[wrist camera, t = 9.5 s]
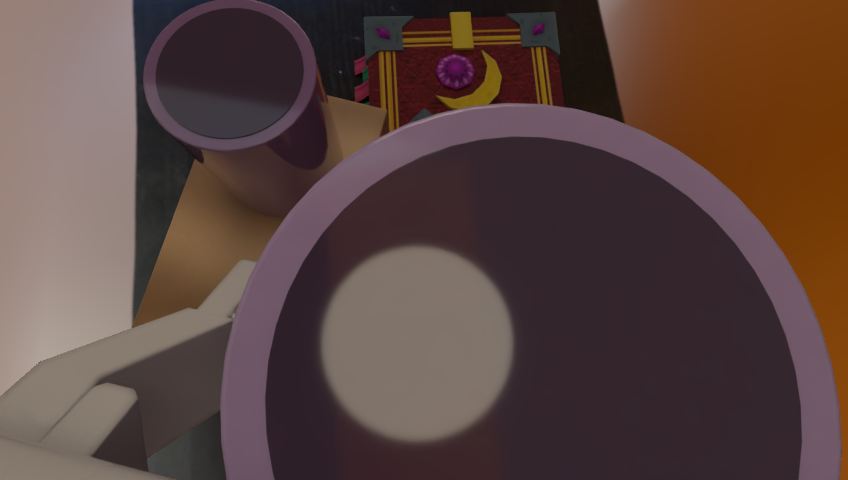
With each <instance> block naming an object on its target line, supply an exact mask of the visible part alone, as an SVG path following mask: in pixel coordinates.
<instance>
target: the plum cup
mask: <svg viewBox="0 0 848 480" xmlns="http://www.w3.org/2000/svg"><path fill="white" fill-rule="evenodd" d="M143 83H144V92H145V97H146V100H147V103H148V106H149V108H150V110H151V112H152V114H153V116H154V117H155V118H156V120H157V121H158V123H159V124H160V125H161V126H162V127H163V128H164V129H165V130H166V131H167V132H168V133H169V134H170V135H171V136H172V137H173V138H174V139H175V140H176V141H177V142H178V143H179V144H180V145H181V146H183V147H184V148H185V149H186V150H187V151H188V152H189V153H190V154H191V155H192V156H193V157H194V158H195V159H196V160H197V161H198V162H199V163H200V164H201V165H202V166H203V167H204V168H205V169H206V170H207V171H208V172H209V173H210V174H211V175H213V176H214V177H215V178H216V179H217V180H218V181H219V182H220V183H221V184H222V185H223V186H224V187H225V188H226V189H227V190H228V191H229V192H230V193H231V194H232V195H233V196H234V197H235V198H236V199H237V200H238V201H239V202H240V203H242V204H243V205H244V206H246V207H247V208H249V209H251V210H252V211H254V212H257V213H259V214H262V215H266V216H272V217H286V216H287V214H288V213H289V212H290V211H291V209H292V208H293V207H294V206H295V205H296V204H297V203H298V202H299V201H300V200H301V198H302V197H303V196H304V195H305V194H306V193H307V192H308V191H309V190H310V189H311V188H312V186H313V185H314V184H315V183H317V182H318V181H319V180H320V179H321V178H322V177H324V176H325V175H326V174H327V173H328V172H330V171H331V170H332V169H333V168H334V167H335V166H337V165H338V164H339V163H340V162H341V161H343V151H342V146H341V143H340V139H339V136H338V132H337V129H336V125H335V122H334V118H333V115H332V111H331V108H330V104H329V101H328V98H327V94H326V91H325V87H324V84H323V80H322V77H321V73H320V70H319V66H318V63H317V60H316V56H315V53H314V49H313V47H312V45H311V42H310V40H309V38H308V37H307V35H306V33H305V32H304V31H303V29H302V28H301V27H300V26H299V24H297V23H296V22H295V21H294V20H293V19H292V18H291V17H290V16H288V15H287V14H285V13H284V12H283V11H281V10H279V9H277V8H275V7H273V6H271V5H268V4H266V3H263V2H259V1H255V0H216V1H211V2H207V3H204V4H201V5H198V6H196V7H194V8H192V9H190V10H188V11H186V12H184V13H183V14H181V15H180V16H178V17H177V18H176V19H174V20H173V21H172V22H171V23H170V24H169V25H168V26H166V27H165V28H164V29H163V31H162V32H161V33H160V34H159V36H158V37H157V38H156V40H155V42H154V43H153V45H152V47H151V49H150V51H149V53H148V56H147V59H146V63H145V67H144V75H143Z"/></svg>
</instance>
